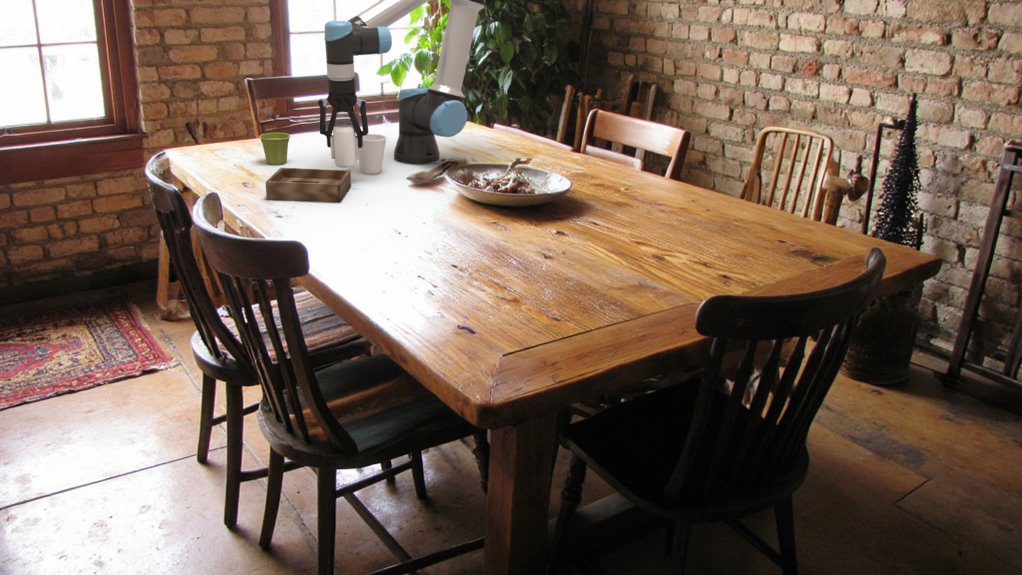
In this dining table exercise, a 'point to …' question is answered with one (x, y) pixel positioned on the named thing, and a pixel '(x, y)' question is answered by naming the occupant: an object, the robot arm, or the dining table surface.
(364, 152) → the cup
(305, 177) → the walled box
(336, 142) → the can
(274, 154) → the plant pot
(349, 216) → the dining table surface
